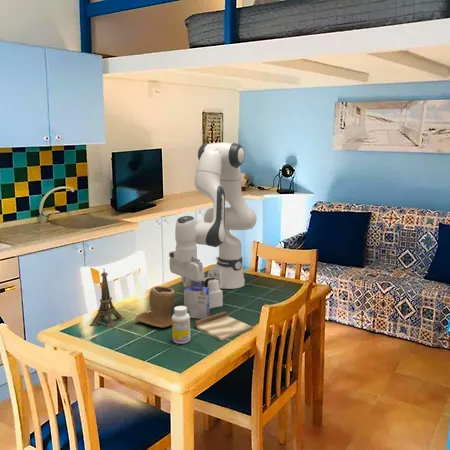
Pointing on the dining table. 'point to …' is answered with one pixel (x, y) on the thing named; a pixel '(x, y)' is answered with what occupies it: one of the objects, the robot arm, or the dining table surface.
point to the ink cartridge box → (197, 301)
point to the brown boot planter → (159, 307)
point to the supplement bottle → (181, 325)
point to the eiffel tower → (106, 306)
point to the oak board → (221, 326)
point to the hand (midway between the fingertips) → (187, 287)
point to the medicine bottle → (214, 293)
